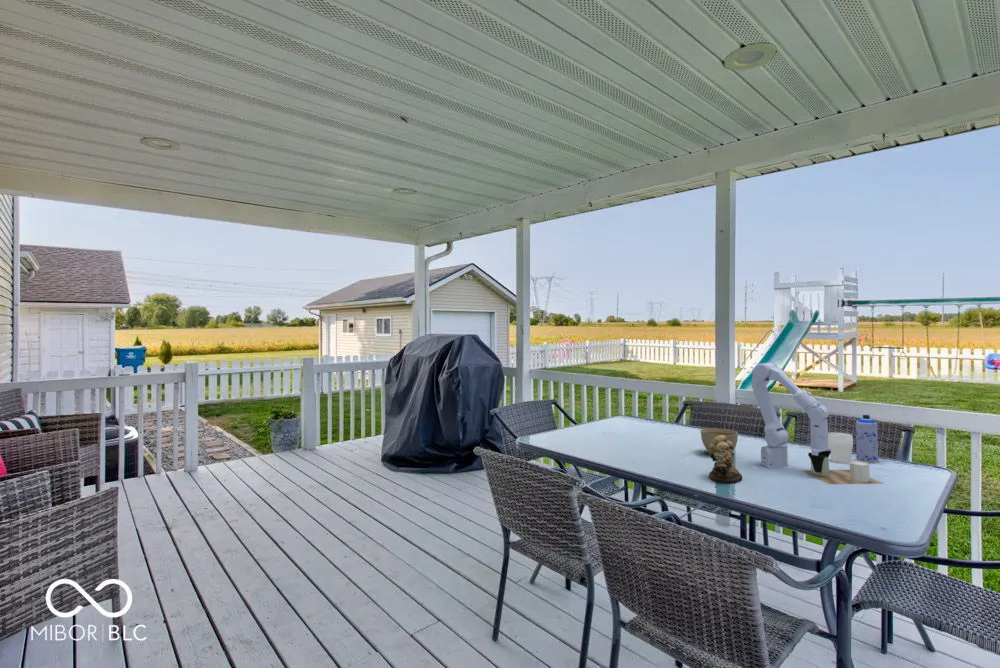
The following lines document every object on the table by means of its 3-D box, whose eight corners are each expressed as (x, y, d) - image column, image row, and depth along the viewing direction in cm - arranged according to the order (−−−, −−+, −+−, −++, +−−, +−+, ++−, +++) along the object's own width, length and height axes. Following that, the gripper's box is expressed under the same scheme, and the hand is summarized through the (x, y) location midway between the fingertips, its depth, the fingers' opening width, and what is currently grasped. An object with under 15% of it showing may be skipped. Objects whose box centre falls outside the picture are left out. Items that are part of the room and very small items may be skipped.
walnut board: (829, 485, 176) (829, 484, 176) (799, 471, 194) (799, 470, 194) (884, 484, 175) (884, 483, 175) (850, 470, 193) (850, 469, 193)
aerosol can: (871, 458, 210) (869, 413, 210) (883, 463, 202) (882, 416, 202) (852, 458, 211) (850, 413, 211) (863, 463, 203) (862, 416, 203)
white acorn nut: (857, 482, 177) (857, 464, 177) (847, 478, 182) (846, 460, 182) (873, 482, 176) (872, 464, 176) (862, 477, 182) (861, 460, 182)
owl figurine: (740, 486, 177) (739, 441, 177) (706, 482, 183) (704, 438, 183) (743, 473, 193) (741, 431, 193) (711, 470, 199) (710, 429, 199)
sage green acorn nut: (817, 475, 186) (817, 459, 186) (808, 471, 191) (808, 455, 191) (832, 475, 186) (831, 458, 186) (822, 471, 191) (822, 455, 191)
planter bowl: (727, 461, 212) (726, 436, 212) (694, 454, 225) (693, 431, 225) (745, 455, 222) (744, 431, 222) (712, 448, 235) (712, 426, 235)
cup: (858, 463, 203) (857, 435, 203) (844, 466, 200) (843, 437, 200) (837, 458, 212) (836, 431, 212) (823, 460, 208) (822, 433, 208)
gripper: (826, 440, 181) (827, 476, 181) (835, 434, 191) (836, 468, 191) (805, 437, 186) (806, 472, 186) (815, 432, 196) (816, 465, 196)
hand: (820, 470), depth 189 cm, fingers open, 6 cm apart
